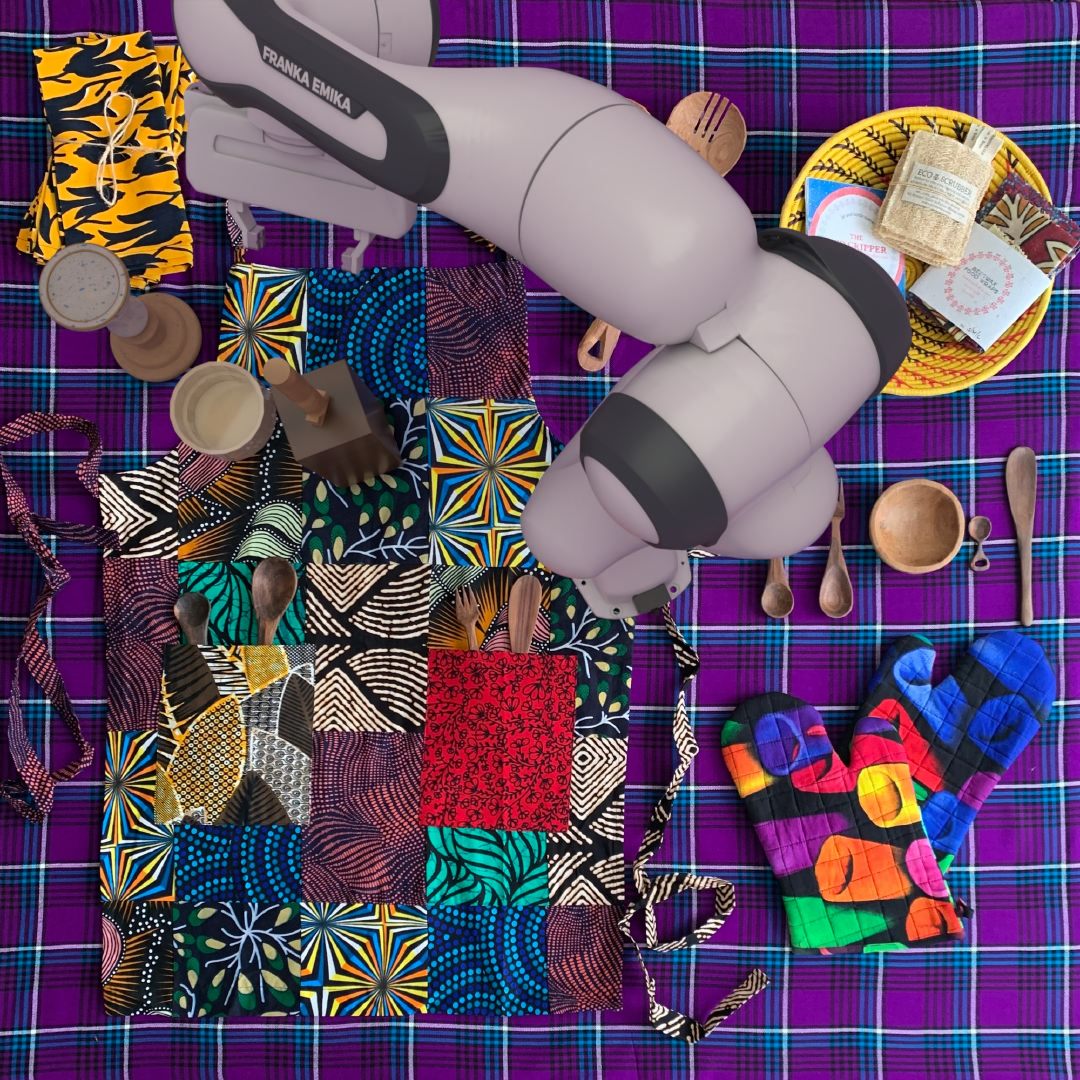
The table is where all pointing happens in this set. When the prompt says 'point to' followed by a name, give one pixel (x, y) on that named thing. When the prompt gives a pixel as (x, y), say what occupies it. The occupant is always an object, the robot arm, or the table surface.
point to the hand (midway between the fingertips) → (303, 258)
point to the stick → (297, 389)
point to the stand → (341, 429)
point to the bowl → (222, 411)
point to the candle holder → (120, 312)
